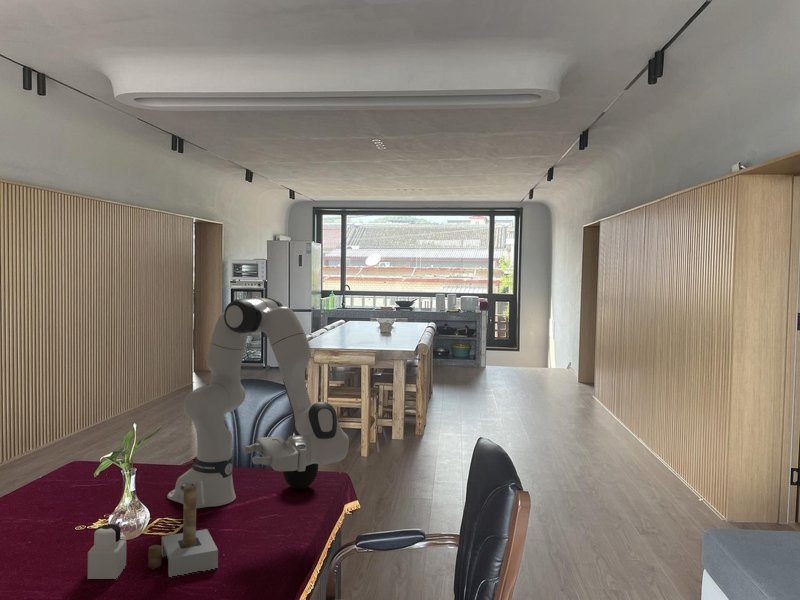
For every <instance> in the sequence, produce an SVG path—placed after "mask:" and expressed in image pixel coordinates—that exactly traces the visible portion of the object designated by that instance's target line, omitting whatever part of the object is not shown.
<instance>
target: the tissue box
mask: <svg viewBox="0 0 800 600" xmlns="http://www.w3.org/2000/svg"><path fill="white" fill-rule="evenodd" d="M161 546H162V558H167V561H168V562H167V563H168V564H167V574H168V575H167V576H168V578H169V577H171V578H173V577H172V576H177V575H182V576H185V575H184V574H187V575H189V574H188V573H192V572H197V571H203V572H207V571H206V570H208V571H212V570H211V569H213V570H216V569H215V568H218V569H219V549H218V547H217V545H216V543H215V541H214V540H213V537H212V536H211V533H210V532H209V529H208V528H206V529H205V528H204V529H200V530H196V546H194V547H189V548H183V532H180V533H173V534H168V535H162V536H161ZM164 556H165V557H164ZM166 556H167V557H166ZM197 573H198V572H197ZM192 574H193V573H192ZM177 577H178V576H177Z"/></svg>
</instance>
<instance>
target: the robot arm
mask: <svg viewBox="0 0 800 600" xmlns="http://www.w3.org/2000/svg"><path fill="white" fill-rule="evenodd" d="M214 325H215V326H214V328H213V331H212V334H211V339H210V343H209V347H208V351H207V357H206V362H205V364H206V367H207V368H208V369H209V370H210V381H209V383H208V384H206V385H202V386H199V387H197V388H195V389H193V390H192V391H190V392H189V393H188V394H187V395H186V396H185V397H184V400H183V404H182V407H183V411H184V412H183V413H184V414H185V415H186V417H187V418H188V419H189V420H191V422H192V423H193V425H194V429H195V433H196V446H197V447H196V451H197V452H196V454H197V455H196V457H194V458H192V459H190V460H189V461H190V462H189V464H192V463H193V464H192V467H191V468H189V469H188V470H187V471H186V472H184V473H183V474H182V475H181V474H180V476H179V477H178V478H177V480H176V483H175V487H174V489H172V490H171V491H169V492H168V494H167V499H168V500H171V501H173V502H177V503H178V504H181V505H184V487H186V486H196V487H197V493H196V509H201V508H202V509H203V508H209V507H211V508H212V507H220V506H224V505H227V504H230V503H232V502H233V501H235V500H236V498H237V496H236V493H235V488H234V482H233V468H234V467H233V466H234V456H233V455H232V452H233V451H232V450H233V449H232V448H233V446H232V445H233V435H232V432H231V430H229V429H228V428H227V426H226V424H225V414H228V413H230V412H233V411H235V410H237V408H239V407H240V406H241V405H242V404H243V403H244V401H245V399H246V390H245V388H244V386H243V384H242V380H241V368H242V362H243V358H244V353H245V349H246V344H247V340H248V336H249V334H258V333H261V332H263V333H264V334H265V335H266V337H267V339H268V342H269V344H270V346H271V350H272V352H273V355H274V357H275V360H276V363H277V365H278V369H279V371H280V374H281V378H282V381H283V385H284V389H285V391H286V395H287V398H288V402H289V405H290V408H291V411H292V431H293V433H294V435H290V436H288V438H287V440H285V439H284V438H282V437H280V436H262V437H258V438H256V442H255V443H252V444H250V445H245V446H244V447H243V452H244V453H245V454H252V453H253V452H256V453H258V454H260V455H261V456H259V455H255V456H252V458H251V459H252V460H251V461H252V464H254V465H264V466H270V467H271V469H273V471H276V472H283V471H295V470H297V471H299V472H301V471H305V468H306V466H308V465H310V464H318V465H326V464H327V465H328V464H333V463H338V462H342V461H343V460H344V459H345V458H346V457H347V456H348V453H349V450H350V437H349V436H348V434H347V433H346V432H345V431H344V430H343V428H342V426H341V425H340V423H339V420H338V413H337V411H336V409H335V407H334V406H332V405H331V404H330V403H328V402H325V401H317V402H314V403H313V404H312V402H311V398H310V395H309V393H308V392H309V391H308V388H307V386H306V382H305V374H306V370H307V367H308V364H309V361H310V358H311V350H310V349H311V348H310V343H309V339H308V338H307V335H306V332H305V330H304V328H303V326H302V324H301V322H300V320H299V319H298V316H297V315H296V314H295V312H294V311H293V309H292V308H289V307H288V306H284V305H283V303H281V302H280V301H279V300H276V299H274V298H269V297H266V298H264V297H252V298H245V299H244V298H240V299H235V300H233V301H231V302H229V303H228V304H227V306H226V307H225V309H224V312H221V313H220V315H219V316H218V318H217V321H216V323H215V324H214Z"/></svg>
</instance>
